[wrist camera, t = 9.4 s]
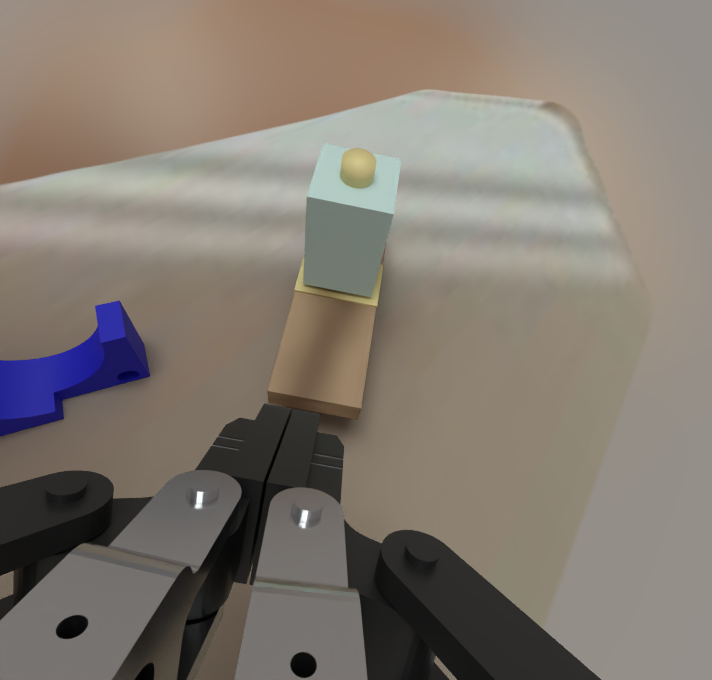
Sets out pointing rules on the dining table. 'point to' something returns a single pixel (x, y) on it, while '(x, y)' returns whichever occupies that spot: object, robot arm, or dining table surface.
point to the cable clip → (71, 372)
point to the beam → (325, 350)
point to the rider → (348, 218)
